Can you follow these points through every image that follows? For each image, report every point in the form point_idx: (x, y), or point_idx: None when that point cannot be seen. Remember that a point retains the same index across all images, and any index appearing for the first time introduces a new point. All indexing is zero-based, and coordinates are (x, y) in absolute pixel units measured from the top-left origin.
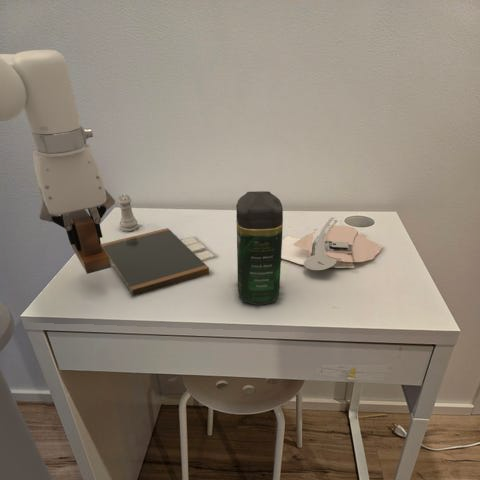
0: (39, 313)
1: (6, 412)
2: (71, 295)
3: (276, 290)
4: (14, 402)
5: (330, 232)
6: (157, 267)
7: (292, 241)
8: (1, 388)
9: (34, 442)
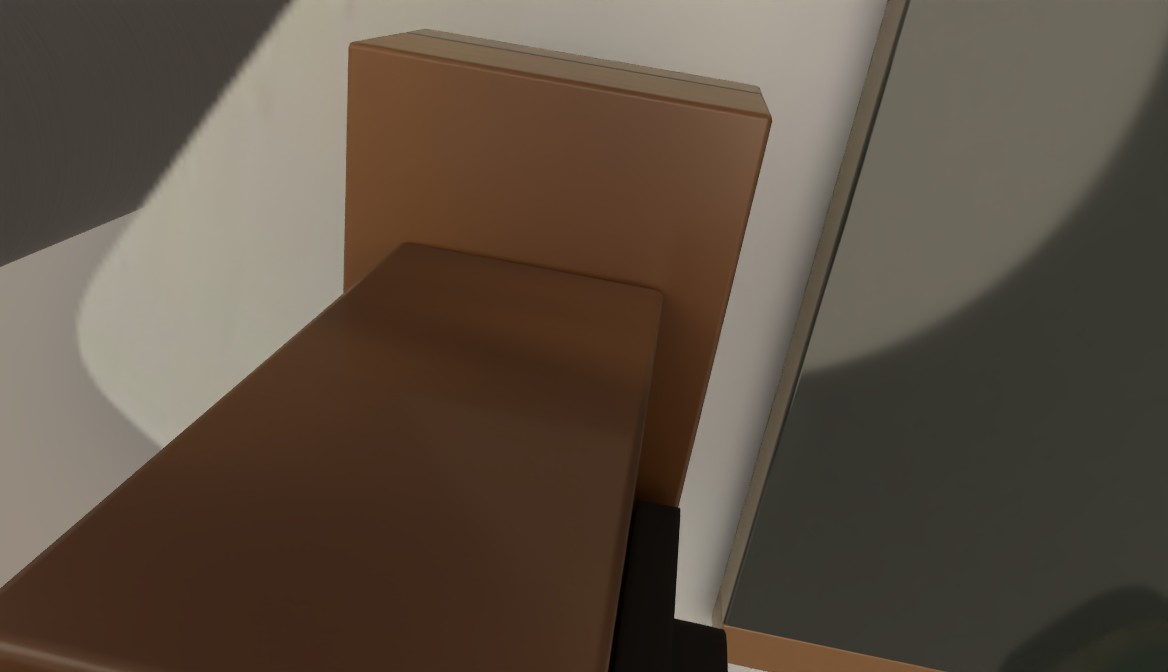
0: (113, 380)
1: (141, 197)
2: None
3: None
4: (179, 129)
5: None
6: (1094, 545)
7: None
8: (81, 202)
9: None
